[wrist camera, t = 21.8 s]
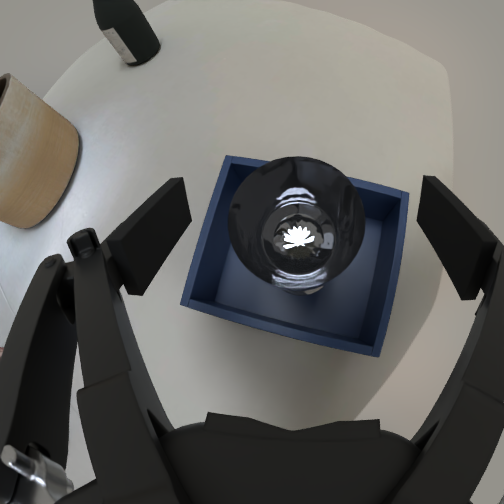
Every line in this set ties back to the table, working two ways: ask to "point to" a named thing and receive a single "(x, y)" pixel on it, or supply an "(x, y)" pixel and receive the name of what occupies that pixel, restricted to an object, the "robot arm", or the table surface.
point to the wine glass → (296, 224)
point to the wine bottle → (126, 29)
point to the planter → (32, 155)
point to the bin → (313, 305)
